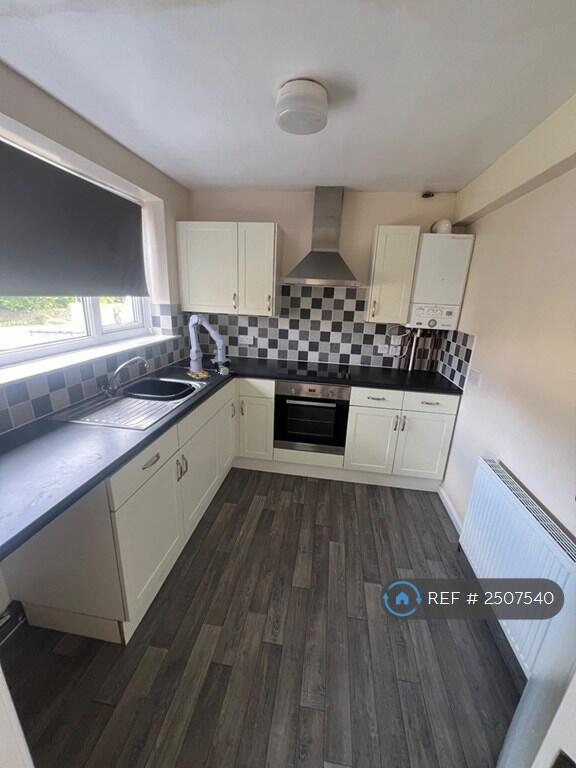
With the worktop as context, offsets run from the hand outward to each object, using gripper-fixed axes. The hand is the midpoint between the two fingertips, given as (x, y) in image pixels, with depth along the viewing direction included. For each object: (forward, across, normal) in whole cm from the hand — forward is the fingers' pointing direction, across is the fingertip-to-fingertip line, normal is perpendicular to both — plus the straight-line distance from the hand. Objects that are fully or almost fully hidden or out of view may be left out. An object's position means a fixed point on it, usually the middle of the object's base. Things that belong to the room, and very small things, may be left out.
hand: (222, 371), depth 235 cm
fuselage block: (+2, 0, 0) cm, 2 cm away
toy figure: (+2, +9, +23) cm, 25 cm away
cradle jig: (+1, -18, +2) cm, 18 cm away
